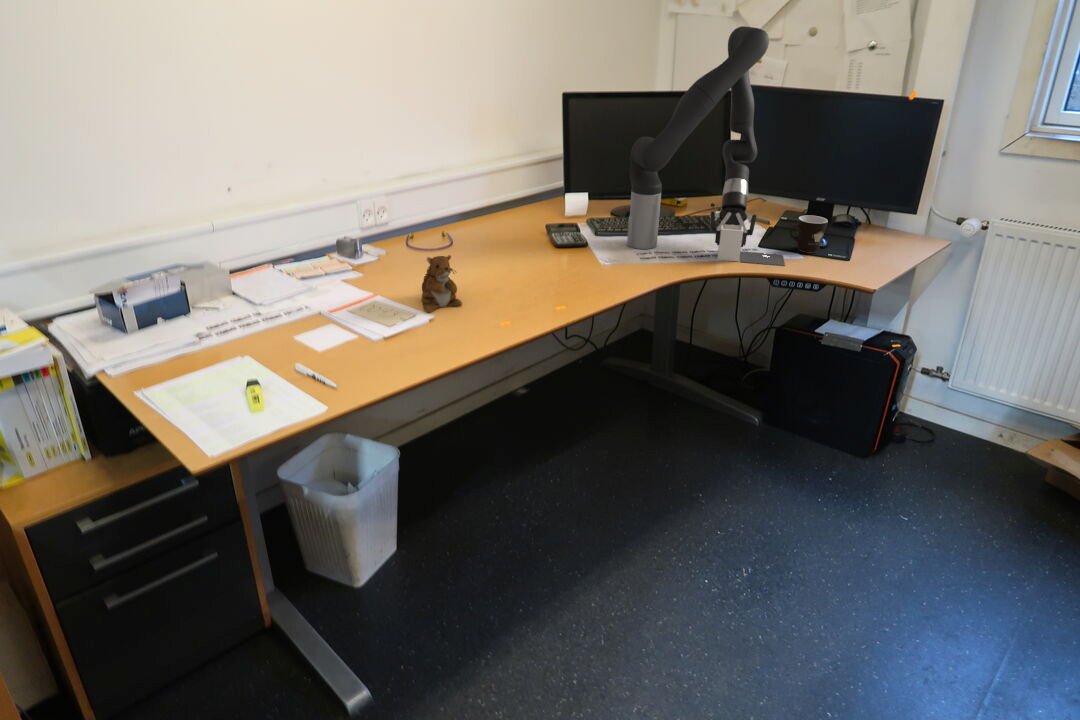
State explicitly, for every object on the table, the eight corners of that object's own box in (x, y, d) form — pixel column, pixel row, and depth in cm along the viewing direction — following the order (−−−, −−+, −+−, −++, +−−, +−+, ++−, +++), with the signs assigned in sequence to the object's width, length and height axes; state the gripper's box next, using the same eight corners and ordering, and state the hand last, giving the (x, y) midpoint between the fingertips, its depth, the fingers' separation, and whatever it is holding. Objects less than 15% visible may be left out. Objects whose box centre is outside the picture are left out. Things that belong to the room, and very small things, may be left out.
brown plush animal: (427, 315, 187) (424, 265, 181) (412, 295, 198) (408, 248, 192) (465, 308, 191) (463, 260, 185) (448, 290, 202) (445, 243, 196)
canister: (717, 259, 226) (721, 229, 222) (717, 252, 232) (721, 223, 228) (739, 261, 225) (743, 231, 221) (738, 254, 231) (743, 224, 226)
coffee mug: (818, 246, 239) (824, 216, 234) (824, 255, 231) (831, 223, 227) (781, 244, 240) (786, 214, 235) (786, 253, 232) (791, 222, 228)
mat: (740, 262, 224) (740, 261, 224) (739, 251, 233) (739, 251, 233) (784, 266, 222) (785, 265, 222) (782, 255, 231) (783, 254, 230)
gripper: (712, 188, 228) (706, 237, 223) (760, 191, 225) (756, 241, 220) (710, 201, 235) (705, 248, 230) (757, 204, 232) (753, 252, 227)
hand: (730, 244), depth 225 cm, fingers closed on canister, 6 cm apart
